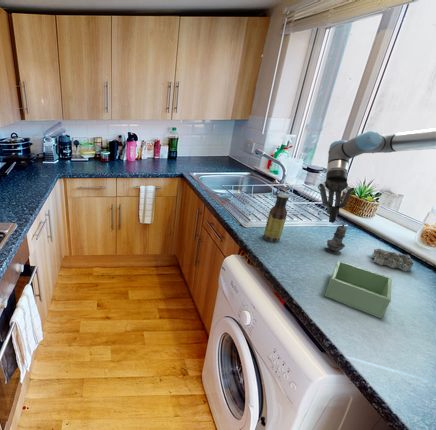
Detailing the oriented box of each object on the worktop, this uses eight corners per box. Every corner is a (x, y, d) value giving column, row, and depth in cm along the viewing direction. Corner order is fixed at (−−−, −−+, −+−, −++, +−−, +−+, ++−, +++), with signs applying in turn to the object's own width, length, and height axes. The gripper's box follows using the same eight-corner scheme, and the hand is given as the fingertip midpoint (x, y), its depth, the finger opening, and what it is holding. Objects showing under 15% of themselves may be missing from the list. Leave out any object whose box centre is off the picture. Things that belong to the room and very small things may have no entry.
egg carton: (372, 263, 106) (377, 254, 104) (370, 254, 112) (374, 245, 110) (411, 273, 101) (416, 263, 99) (406, 263, 106) (411, 253, 105)
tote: (382, 294, 90) (391, 277, 87) (380, 318, 81) (391, 300, 78) (331, 276, 98) (338, 260, 95) (324, 295, 89) (331, 278, 86)
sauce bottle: (267, 233, 125) (279, 191, 117) (281, 239, 121) (295, 195, 112) (259, 238, 121) (271, 194, 113) (274, 244, 117) (288, 199, 109)
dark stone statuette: (323, 245, 117) (333, 219, 112) (341, 250, 114) (352, 223, 109) (324, 252, 112) (334, 225, 107) (342, 256, 110) (354, 229, 104)
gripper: (350, 179, 128) (346, 227, 121) (316, 175, 133) (311, 221, 126) (358, 170, 121) (355, 221, 115) (322, 166, 126) (317, 215, 120)
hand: (332, 221), depth 121 cm, fingers closed
